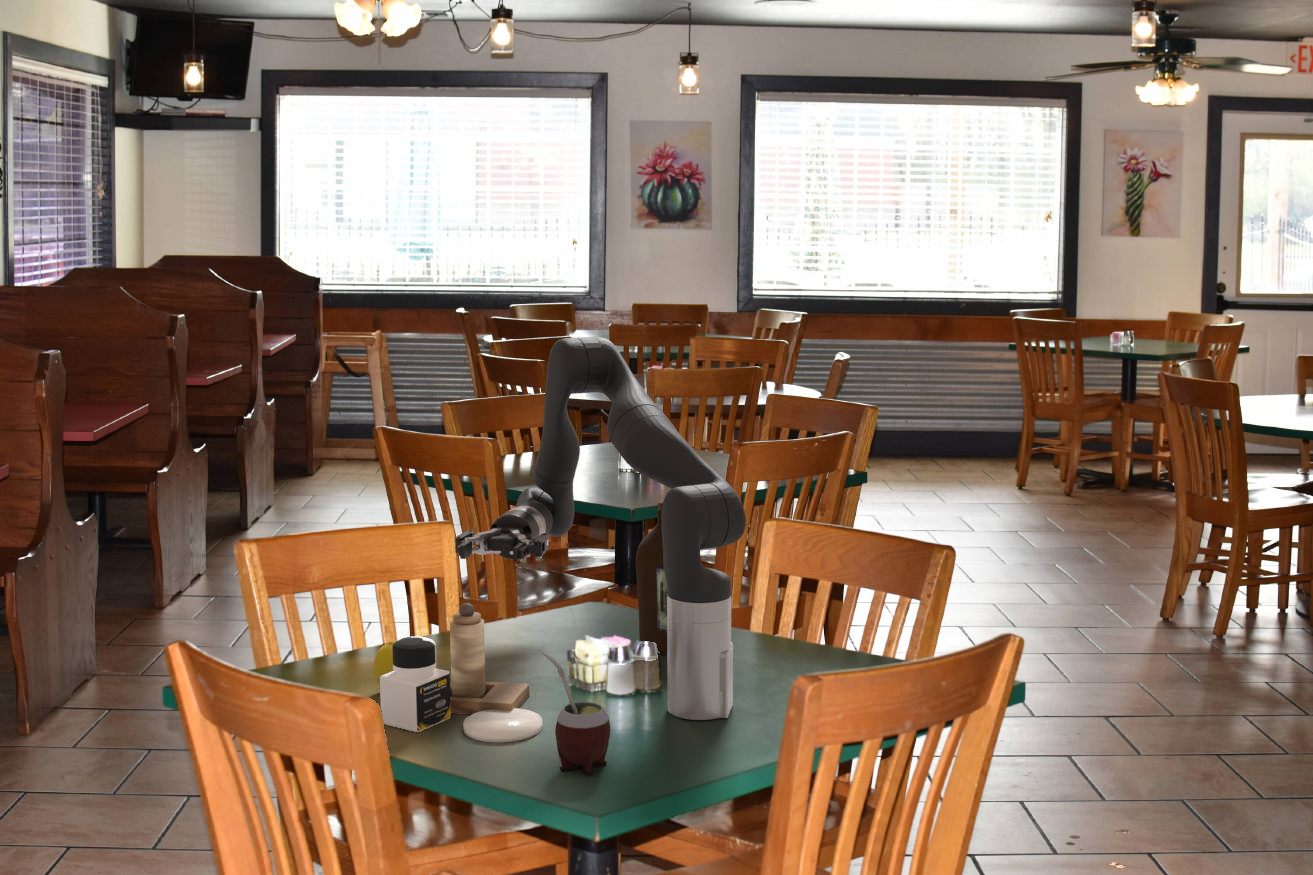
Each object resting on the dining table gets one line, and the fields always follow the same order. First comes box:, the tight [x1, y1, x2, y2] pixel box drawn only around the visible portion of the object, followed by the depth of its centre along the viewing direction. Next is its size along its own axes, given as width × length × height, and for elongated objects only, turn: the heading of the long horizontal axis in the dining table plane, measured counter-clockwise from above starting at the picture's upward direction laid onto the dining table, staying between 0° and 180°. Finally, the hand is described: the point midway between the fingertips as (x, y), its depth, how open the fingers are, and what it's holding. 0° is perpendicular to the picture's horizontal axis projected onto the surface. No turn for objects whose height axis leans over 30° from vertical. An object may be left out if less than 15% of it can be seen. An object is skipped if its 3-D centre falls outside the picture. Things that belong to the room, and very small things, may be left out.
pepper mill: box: [449, 602, 486, 699], centre depth 195 cm, size 5×5×15 cm
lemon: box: [373, 640, 396, 685], centre depth 201 cm, size 6×6×8 cm
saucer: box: [462, 708, 543, 743], centre depth 186 cm, size 11×11×1 cm
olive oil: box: [635, 499, 667, 655], centre depth 222 cm, size 11×11×25 cm
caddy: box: [450, 678, 530, 715], centre depth 195 cm, size 13×9×2 cm
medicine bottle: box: [379, 635, 452, 734], centre depth 188 cm, size 7×7×12 cm
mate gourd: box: [541, 650, 611, 777], centre depth 170 cm, size 8×8×15 cm
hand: (488, 553), depth 204 cm, fingers open, 8 cm apart
